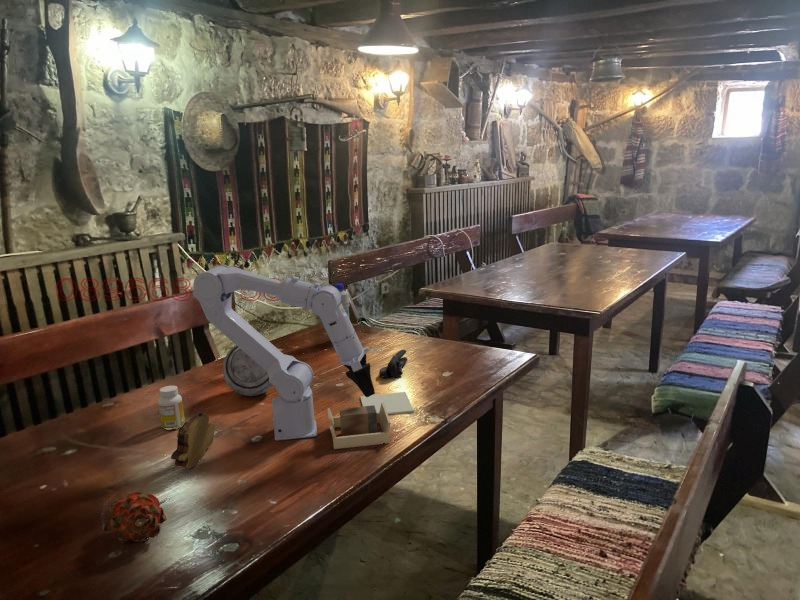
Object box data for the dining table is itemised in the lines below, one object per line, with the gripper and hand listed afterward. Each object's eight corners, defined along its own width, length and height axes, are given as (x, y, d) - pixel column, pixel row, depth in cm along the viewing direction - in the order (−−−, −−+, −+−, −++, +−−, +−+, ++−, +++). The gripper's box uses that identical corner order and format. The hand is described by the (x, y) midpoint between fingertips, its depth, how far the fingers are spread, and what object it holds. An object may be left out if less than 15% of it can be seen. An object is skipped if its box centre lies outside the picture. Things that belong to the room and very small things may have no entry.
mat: (365, 417, 148) (365, 415, 148) (360, 397, 159) (360, 396, 159) (413, 412, 150) (413, 410, 149) (405, 393, 161) (405, 391, 161)
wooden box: (331, 449, 132) (330, 428, 131) (328, 427, 143) (327, 407, 142) (391, 442, 134) (390, 422, 133) (384, 421, 145) (383, 402, 144)
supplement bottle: (177, 419, 150) (172, 382, 148) (189, 424, 147) (184, 387, 144) (157, 427, 146) (151, 389, 144) (169, 433, 143) (163, 394, 140)
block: (342, 440, 136) (340, 416, 135) (341, 432, 140) (339, 408, 139) (377, 436, 137) (376, 412, 136) (375, 429, 141) (374, 405, 140)
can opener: (400, 382, 170) (399, 363, 168) (376, 380, 172) (375, 361, 170) (416, 360, 186) (415, 343, 185) (394, 359, 188) (394, 342, 187)
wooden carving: (198, 442, 137) (193, 402, 135) (218, 442, 137) (213, 401, 135) (169, 481, 121) (163, 436, 119) (192, 481, 121) (186, 435, 119)
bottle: (334, 337, 212) (331, 281, 207) (353, 337, 211) (350, 281, 206) (329, 343, 205) (326, 285, 200) (349, 343, 204) (346, 285, 199)
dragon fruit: (158, 559, 100) (119, 544, 108) (187, 511, 105) (148, 500, 112) (120, 537, 95) (82, 523, 102) (152, 488, 100) (114, 477, 107)
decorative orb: (223, 407, 156) (217, 352, 152) (227, 386, 170) (221, 335, 166) (282, 400, 159) (277, 346, 155) (281, 381, 173) (276, 330, 169)
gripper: (362, 335, 128) (389, 391, 130) (357, 323, 142) (381, 374, 144) (332, 350, 127) (359, 406, 130) (329, 336, 141) (354, 387, 144)
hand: (368, 390), depth 137 cm, fingers open, 7 cm apart
